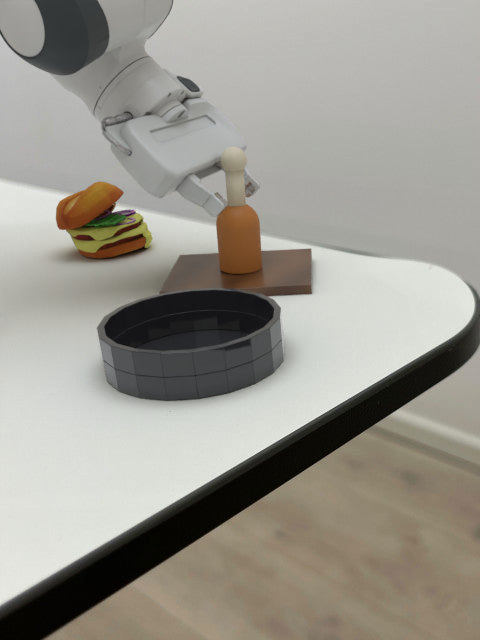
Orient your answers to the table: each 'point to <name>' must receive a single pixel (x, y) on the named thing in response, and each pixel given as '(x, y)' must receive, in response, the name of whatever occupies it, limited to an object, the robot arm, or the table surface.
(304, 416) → the table surface
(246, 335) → the pan
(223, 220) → the drumstick
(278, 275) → the board
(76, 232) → the cheeseburger
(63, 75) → the robot arm
